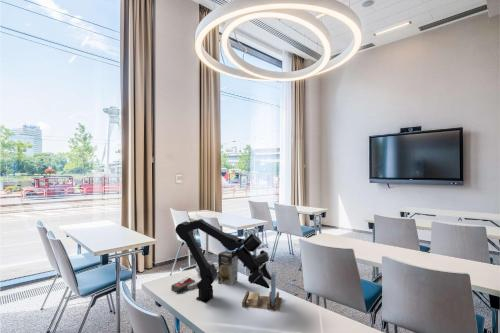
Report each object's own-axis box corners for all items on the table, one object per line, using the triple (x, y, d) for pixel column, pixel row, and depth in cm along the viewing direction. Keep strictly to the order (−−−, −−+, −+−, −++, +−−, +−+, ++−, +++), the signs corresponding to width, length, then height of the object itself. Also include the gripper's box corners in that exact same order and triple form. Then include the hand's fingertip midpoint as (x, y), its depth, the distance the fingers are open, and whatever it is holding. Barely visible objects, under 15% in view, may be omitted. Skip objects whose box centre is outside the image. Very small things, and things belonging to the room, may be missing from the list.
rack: (241, 308, 122) (242, 301, 122) (247, 296, 134) (247, 289, 134) (280, 312, 119) (280, 304, 119) (281, 299, 131) (281, 292, 131)
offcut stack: (245, 304, 124) (245, 299, 124) (249, 296, 132) (249, 291, 132) (256, 305, 123) (256, 300, 123) (259, 297, 131) (259, 292, 131)
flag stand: (207, 280, 153) (208, 226, 153) (191, 275, 160) (191, 224, 160) (222, 272, 164) (222, 222, 164) (206, 268, 171) (206, 220, 171)
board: (271, 306, 123) (271, 275, 123) (272, 299, 129) (272, 270, 129) (274, 306, 123) (274, 275, 123) (275, 300, 129) (275, 270, 129)
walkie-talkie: (180, 295, 135) (208, 282, 152) (180, 286, 135) (208, 274, 152) (168, 291, 140) (196, 278, 156) (168, 282, 140) (196, 270, 156)
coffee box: (217, 283, 149) (217, 253, 149) (224, 279, 154) (224, 250, 155) (231, 287, 144) (231, 256, 144) (238, 282, 150) (238, 253, 150)
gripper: (255, 252, 118) (281, 280, 116) (261, 241, 136) (283, 264, 134) (237, 269, 119) (262, 297, 117) (246, 256, 138) (267, 279, 136)
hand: (270, 283), depth 126 cm, fingers open, 9 cm apart
